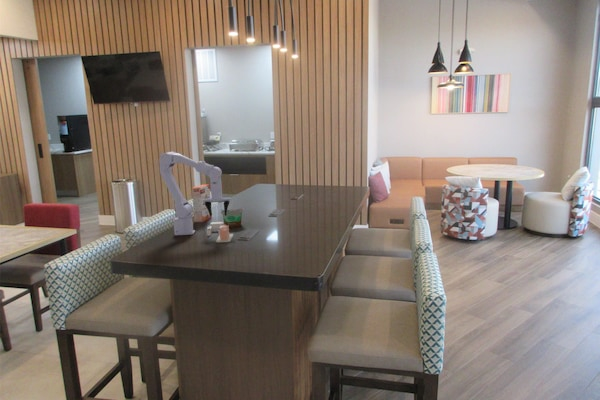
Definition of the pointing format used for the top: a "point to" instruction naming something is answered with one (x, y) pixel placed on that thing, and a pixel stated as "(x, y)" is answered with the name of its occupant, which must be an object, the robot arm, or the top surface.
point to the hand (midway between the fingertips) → (218, 215)
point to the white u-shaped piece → (214, 227)
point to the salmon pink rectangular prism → (224, 232)
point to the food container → (232, 217)
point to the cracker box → (200, 202)
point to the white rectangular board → (225, 240)
